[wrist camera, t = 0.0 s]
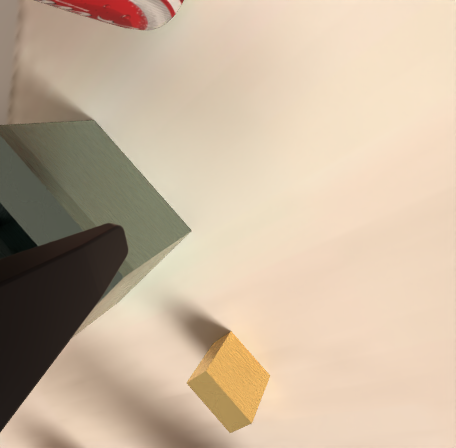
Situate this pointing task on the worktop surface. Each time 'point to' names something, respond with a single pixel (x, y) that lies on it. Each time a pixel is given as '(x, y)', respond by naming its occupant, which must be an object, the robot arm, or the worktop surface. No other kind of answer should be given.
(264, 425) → the worktop surface
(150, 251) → the box
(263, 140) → the worktop surface
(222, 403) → the gold rectangular block
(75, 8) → the soda can
